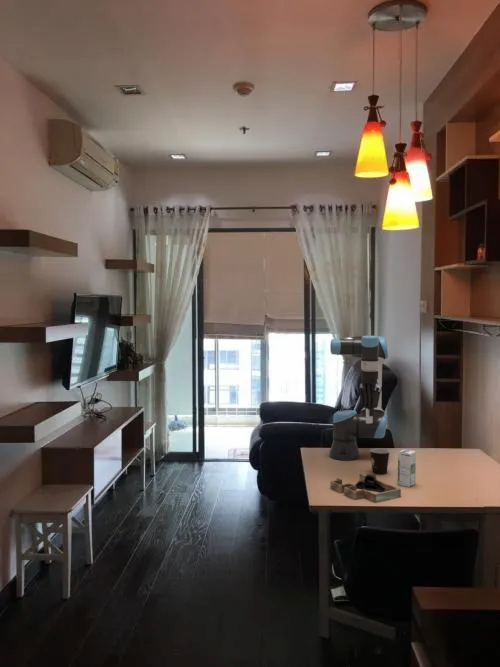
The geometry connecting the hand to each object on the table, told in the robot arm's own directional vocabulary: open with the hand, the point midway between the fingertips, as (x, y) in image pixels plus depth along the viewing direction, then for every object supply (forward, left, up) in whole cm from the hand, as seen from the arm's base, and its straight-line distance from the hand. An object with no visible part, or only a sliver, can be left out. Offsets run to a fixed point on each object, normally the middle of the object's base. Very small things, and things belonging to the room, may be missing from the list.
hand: (369, 422), depth 240 cm
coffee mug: (-4, +10, -25) cm, 27 cm away
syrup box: (+16, +7, -25) cm, 30 cm away
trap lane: (+14, -13, -24) cm, 31 cm away
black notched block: (+13, -9, -26) cm, 30 cm away
